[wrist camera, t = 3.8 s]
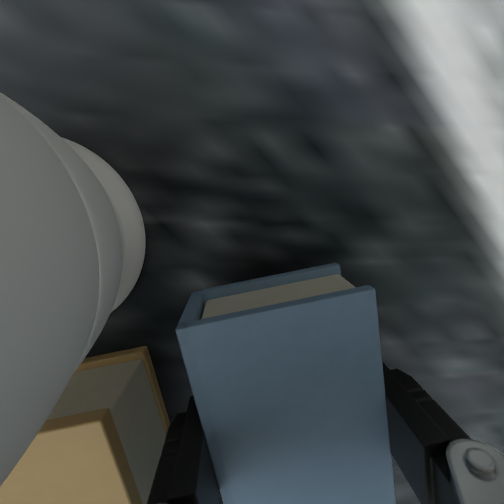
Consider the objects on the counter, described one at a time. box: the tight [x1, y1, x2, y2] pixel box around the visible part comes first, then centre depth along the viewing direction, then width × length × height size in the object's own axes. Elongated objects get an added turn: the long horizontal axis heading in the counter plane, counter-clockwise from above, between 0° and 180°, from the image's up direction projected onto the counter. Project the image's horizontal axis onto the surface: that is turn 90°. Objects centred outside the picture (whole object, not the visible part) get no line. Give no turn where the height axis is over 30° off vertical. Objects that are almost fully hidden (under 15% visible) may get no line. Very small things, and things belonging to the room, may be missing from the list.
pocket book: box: [175, 263, 396, 504], centre depth 10 cm, size 9×6×3 cm, turn 11°
